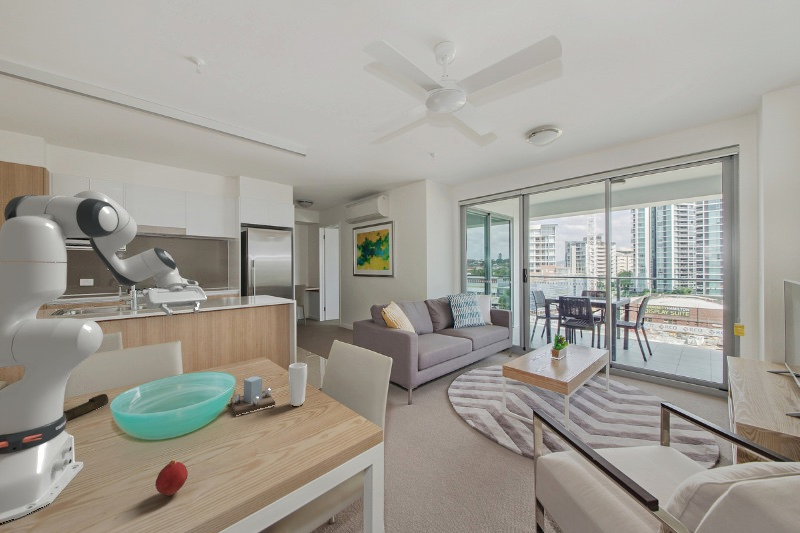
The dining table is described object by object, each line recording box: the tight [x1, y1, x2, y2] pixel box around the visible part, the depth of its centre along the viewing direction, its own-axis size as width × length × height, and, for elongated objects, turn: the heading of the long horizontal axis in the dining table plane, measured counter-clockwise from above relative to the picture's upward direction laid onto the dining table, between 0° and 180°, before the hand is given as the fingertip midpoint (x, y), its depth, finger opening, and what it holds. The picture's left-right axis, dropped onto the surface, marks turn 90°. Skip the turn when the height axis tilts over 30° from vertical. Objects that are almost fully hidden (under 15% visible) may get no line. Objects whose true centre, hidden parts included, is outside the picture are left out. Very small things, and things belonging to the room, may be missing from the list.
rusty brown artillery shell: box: [63, 393, 109, 422], centre depth 105 cm, size 19×4×5 cm, turn 174°
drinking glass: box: [288, 362, 308, 405], centre depth 115 cm, size 7×7×15 cm
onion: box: [154, 458, 189, 497], centre depth 68 cm, size 6×6×8 cm
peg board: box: [230, 387, 276, 416], centre depth 114 cm, size 13×13×5 cm
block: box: [243, 375, 263, 403], centre depth 114 cm, size 4×4×8 cm
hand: (184, 313), depth 117 cm, fingers open, 8 cm apart
